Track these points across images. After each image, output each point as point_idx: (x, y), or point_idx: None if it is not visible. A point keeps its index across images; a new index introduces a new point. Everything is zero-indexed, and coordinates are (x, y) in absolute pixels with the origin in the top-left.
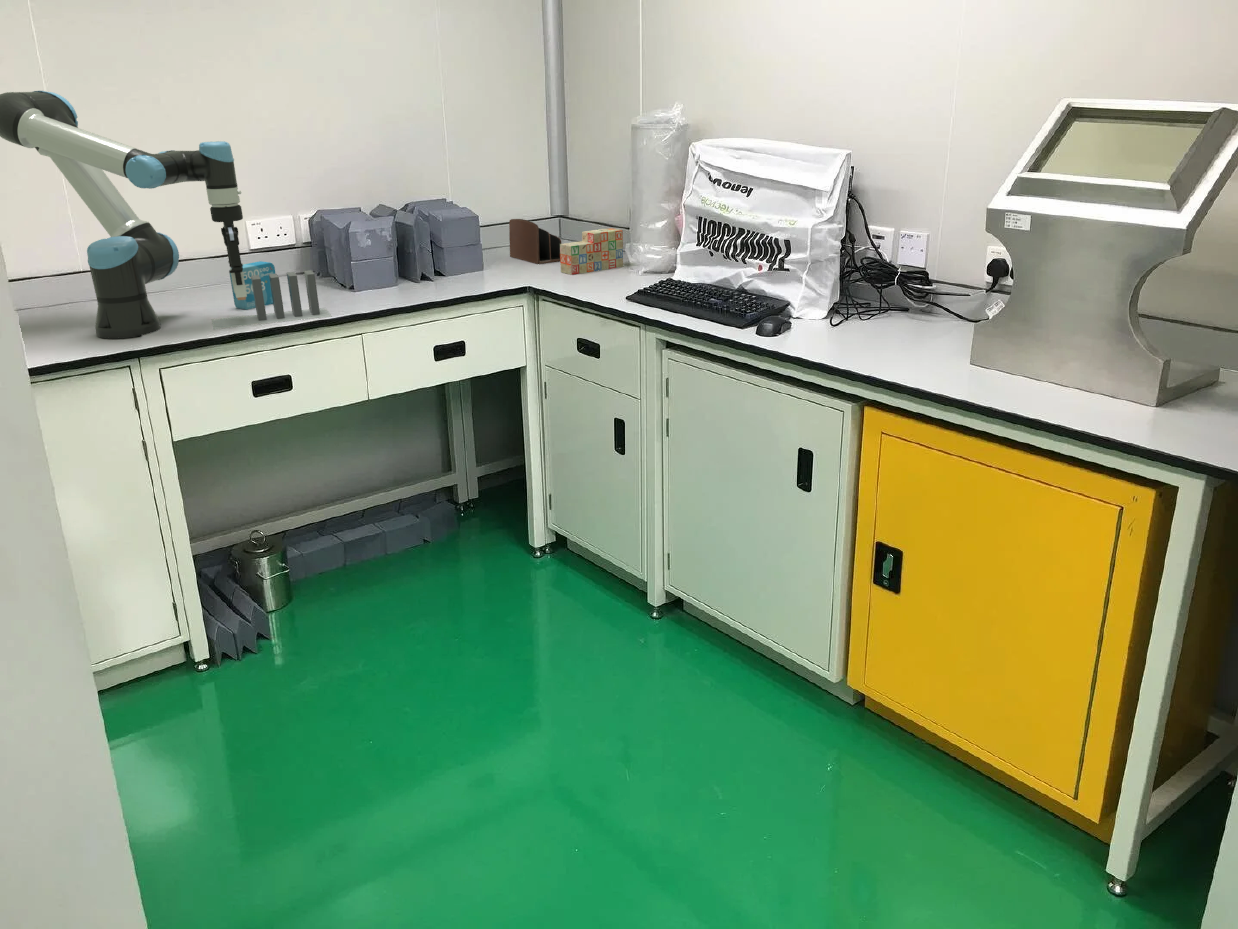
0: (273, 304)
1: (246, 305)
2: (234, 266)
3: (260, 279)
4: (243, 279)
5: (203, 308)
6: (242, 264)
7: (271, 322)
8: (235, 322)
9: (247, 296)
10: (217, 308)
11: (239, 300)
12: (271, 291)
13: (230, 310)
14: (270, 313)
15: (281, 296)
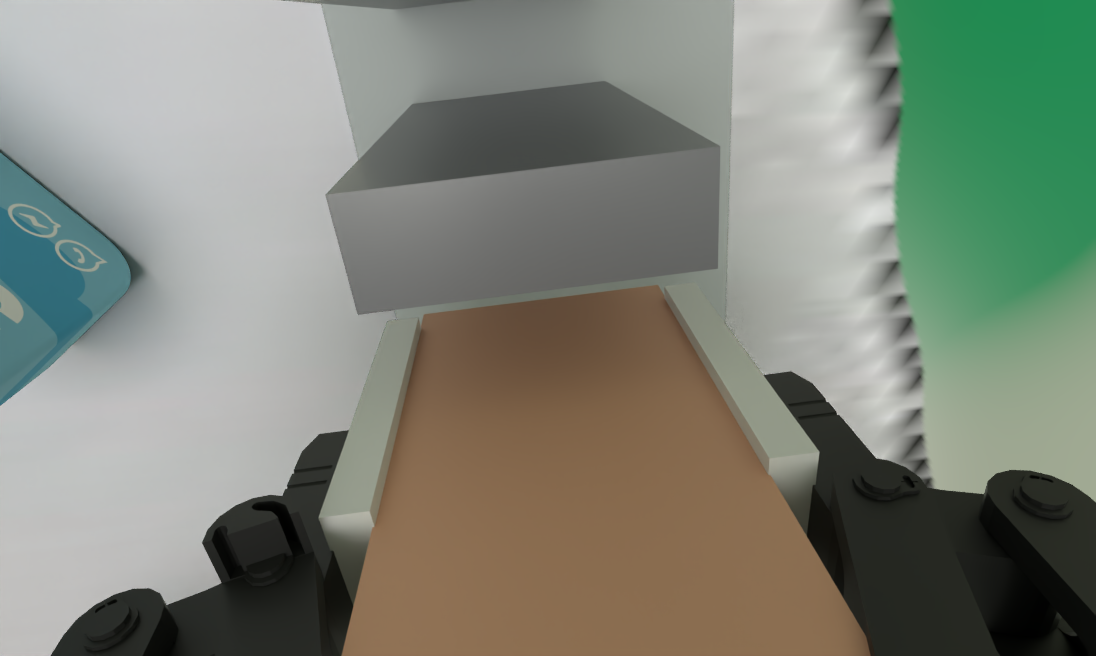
0: (400, 5)
1: (109, 274)
2: (1036, 627)
3: (719, 147)
4: (767, 388)
5: (6, 537)
6: (265, 524)
7: (719, 38)
8: None
9: (36, 286)
10: (11, 462)
11: (68, 342)
12: (369, 3)
13: (94, 377)
14: (337, 53)
15: None
